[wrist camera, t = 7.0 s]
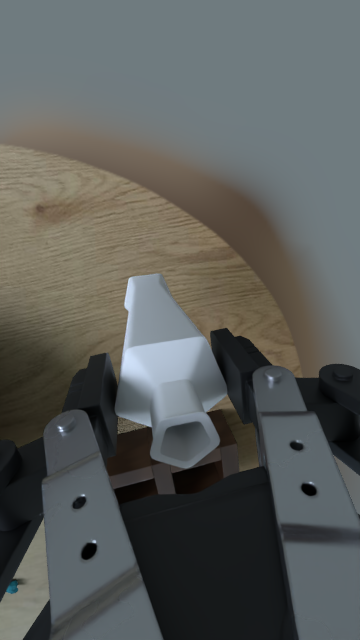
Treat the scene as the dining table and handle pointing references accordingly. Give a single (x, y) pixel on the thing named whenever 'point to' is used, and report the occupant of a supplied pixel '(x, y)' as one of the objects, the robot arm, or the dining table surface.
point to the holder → (168, 465)
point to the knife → (12, 587)
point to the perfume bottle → (168, 375)
